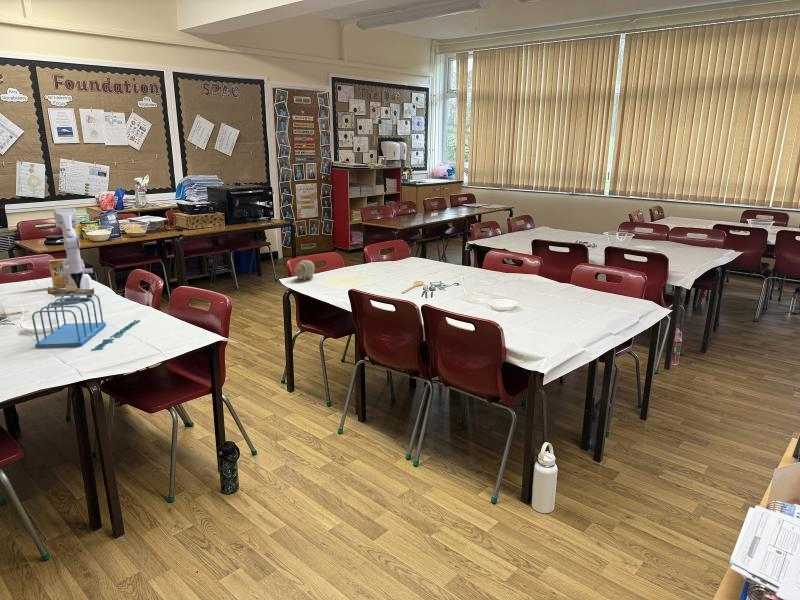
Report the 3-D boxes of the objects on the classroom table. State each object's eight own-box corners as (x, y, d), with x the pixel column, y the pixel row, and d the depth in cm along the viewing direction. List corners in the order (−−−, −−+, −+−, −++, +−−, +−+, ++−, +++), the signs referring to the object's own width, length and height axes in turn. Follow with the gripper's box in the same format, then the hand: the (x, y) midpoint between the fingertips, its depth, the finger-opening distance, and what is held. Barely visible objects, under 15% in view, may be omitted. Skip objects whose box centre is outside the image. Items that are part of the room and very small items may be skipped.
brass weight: (65, 291, 279) (65, 285, 278) (65, 290, 282) (65, 283, 281) (75, 292, 281) (75, 285, 280) (75, 290, 284) (75, 283, 284)
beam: (47, 297, 275) (47, 289, 274) (48, 294, 280) (48, 286, 279) (94, 298, 285) (94, 290, 284) (93, 295, 290) (93, 287, 289)
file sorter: (64, 327, 244) (59, 293, 240) (106, 326, 246) (101, 293, 242) (35, 348, 220) (28, 311, 216) (81, 347, 222) (75, 310, 218)
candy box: (53, 288, 306) (48, 261, 302) (53, 286, 310) (49, 259, 306) (72, 286, 310) (67, 259, 306) (72, 285, 314) (67, 258, 309)
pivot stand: (65, 304, 277) (64, 294, 276) (66, 299, 286) (64, 288, 285) (79, 303, 280) (78, 292, 278) (79, 297, 289) (78, 287, 288)
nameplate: (88, 351, 218) (101, 351, 218) (88, 349, 218) (101, 349, 218) (132, 321, 254) (143, 321, 254) (132, 319, 253) (143, 320, 253)
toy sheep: (290, 281, 325) (289, 262, 322) (305, 274, 340) (304, 256, 337) (306, 282, 322) (306, 263, 319) (320, 276, 337) (320, 258, 334)
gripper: (57, 264, 272) (62, 291, 276) (91, 261, 279) (95, 288, 283) (57, 261, 278) (62, 288, 282) (90, 259, 285) (94, 284, 289)
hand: (78, 288), depth 283 cm, fingers closed
